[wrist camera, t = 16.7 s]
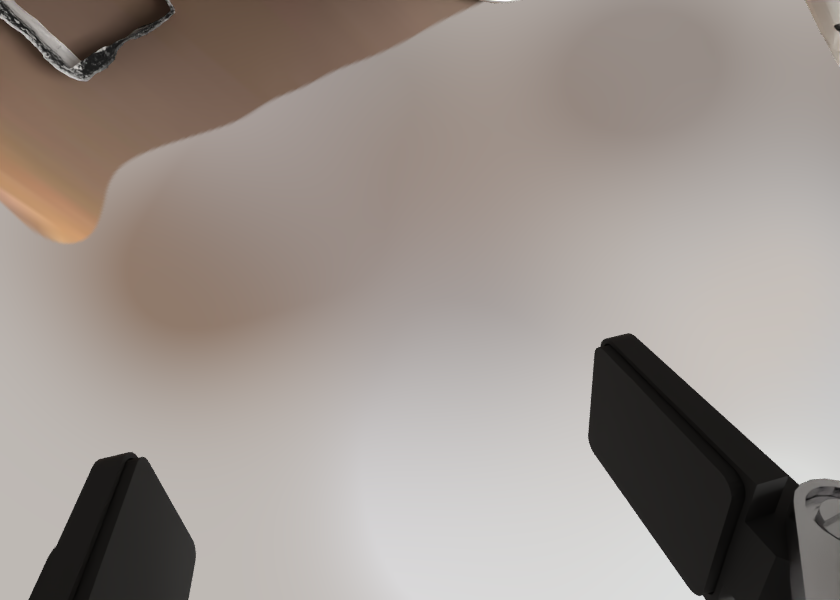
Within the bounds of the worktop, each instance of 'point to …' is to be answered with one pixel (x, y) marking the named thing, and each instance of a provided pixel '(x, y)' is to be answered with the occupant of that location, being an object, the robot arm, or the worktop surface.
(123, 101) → the worktop surface
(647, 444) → the robot arm
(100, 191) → the worktop surface
